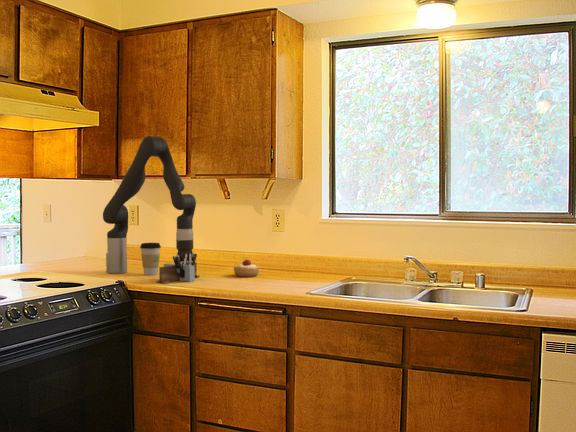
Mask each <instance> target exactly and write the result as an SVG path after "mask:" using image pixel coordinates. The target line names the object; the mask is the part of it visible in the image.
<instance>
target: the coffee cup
mask: <svg viewBox="0 0 576 432" xmlns="http://www.w3.org/2000/svg"><path fill="white" fill-rule="evenodd" d="M139 248H140V252H141V254H140V255H141V263H142V268H143V275H144V276H147V277H148V276H150V277H152V276H158V272H159V267H160V265H159V264H160V256H161V253H160V252H161V248H162V246H161V244H160V242H143V243H141V244H140V247H139Z"/></svg>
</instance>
